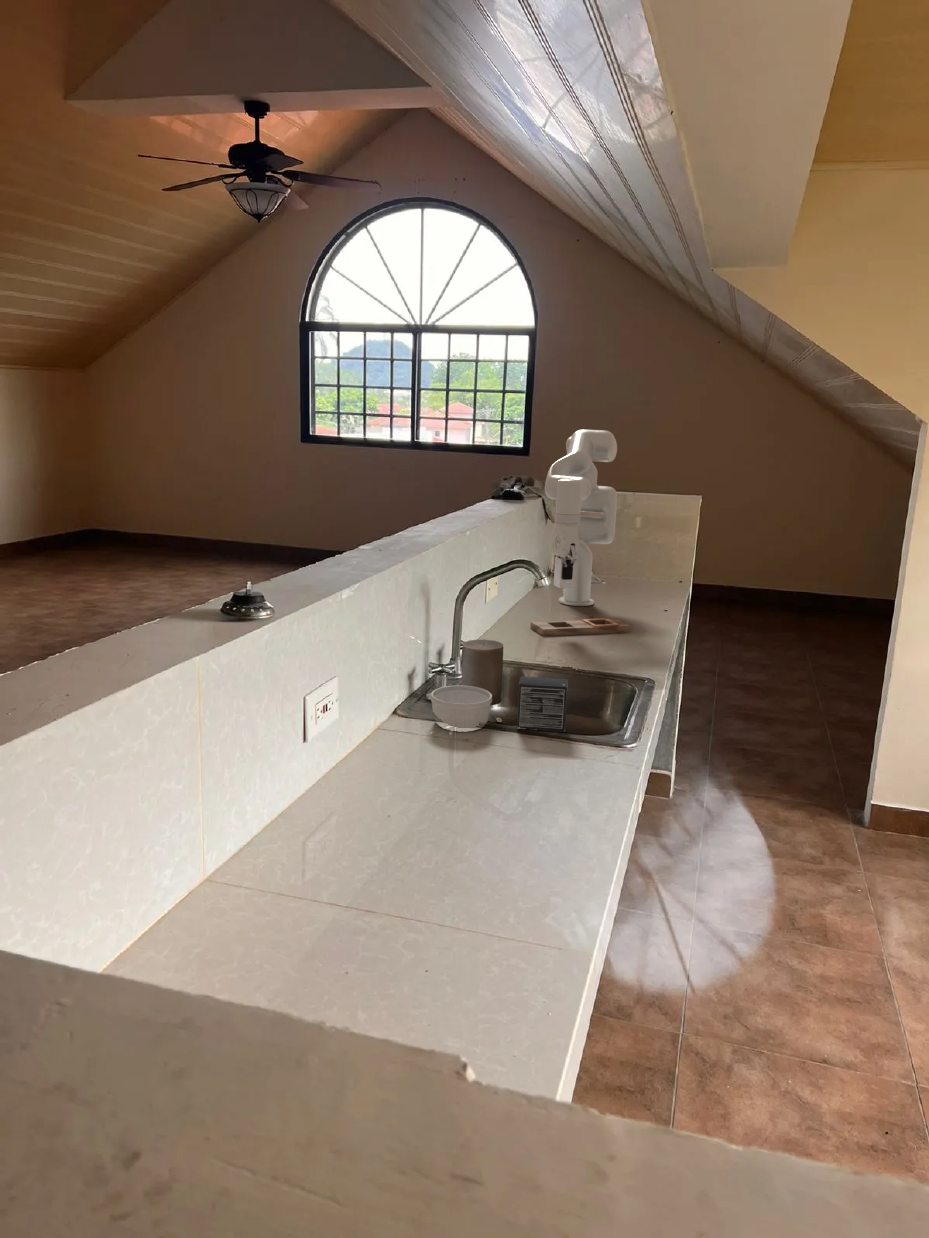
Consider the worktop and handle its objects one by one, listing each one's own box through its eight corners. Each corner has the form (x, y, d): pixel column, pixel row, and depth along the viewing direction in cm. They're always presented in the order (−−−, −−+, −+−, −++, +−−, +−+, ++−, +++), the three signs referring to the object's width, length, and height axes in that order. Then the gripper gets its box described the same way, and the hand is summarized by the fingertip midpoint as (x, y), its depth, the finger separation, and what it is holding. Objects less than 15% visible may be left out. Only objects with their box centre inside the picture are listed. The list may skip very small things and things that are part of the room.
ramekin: (437, 736, 189) (439, 705, 188) (423, 716, 202) (424, 686, 200) (498, 733, 193) (499, 702, 191) (480, 713, 205) (482, 683, 204)
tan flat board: (530, 628, 288) (530, 620, 287) (615, 624, 297) (615, 617, 296) (542, 635, 278) (543, 628, 278) (629, 632, 288) (630, 624, 287)
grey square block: (553, 585, 284) (555, 556, 282) (566, 584, 285) (568, 556, 283) (559, 588, 280) (561, 559, 278) (572, 587, 281) (574, 559, 279)
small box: (565, 723, 201) (568, 677, 198) (565, 733, 194) (568, 686, 192) (517, 719, 202) (520, 674, 199) (516, 729, 195) (518, 683, 193)
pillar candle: (508, 698, 216) (511, 637, 213) (488, 709, 208) (491, 645, 204) (473, 691, 221) (475, 631, 217) (452, 701, 212) (454, 639, 209)
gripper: (545, 515, 284) (541, 573, 289) (567, 523, 269) (563, 583, 273) (567, 515, 287) (563, 572, 291) (590, 523, 271) (586, 583, 275)
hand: (563, 577), depth 282 cm, fingers closed on grey square block, 4 cm apart
